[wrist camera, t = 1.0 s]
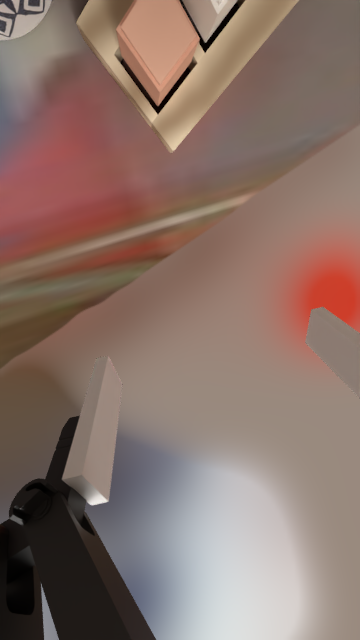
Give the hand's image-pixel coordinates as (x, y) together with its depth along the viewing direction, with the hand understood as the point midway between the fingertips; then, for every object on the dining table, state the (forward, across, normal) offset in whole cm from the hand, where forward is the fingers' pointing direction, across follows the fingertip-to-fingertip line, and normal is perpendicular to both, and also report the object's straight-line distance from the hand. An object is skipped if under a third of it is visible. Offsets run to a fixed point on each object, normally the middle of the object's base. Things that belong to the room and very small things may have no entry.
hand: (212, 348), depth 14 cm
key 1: (+23, +2, +20) cm, 30 cm away
